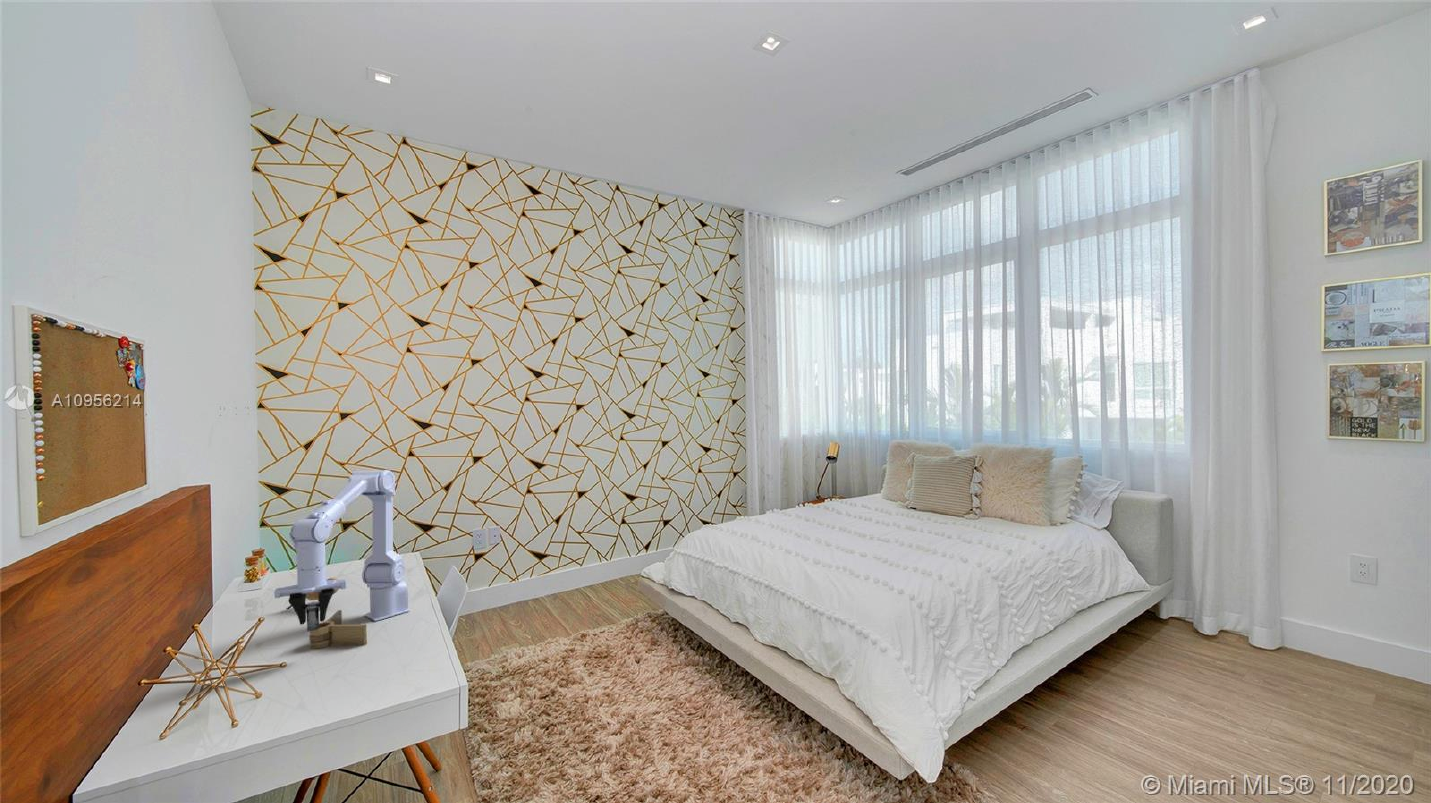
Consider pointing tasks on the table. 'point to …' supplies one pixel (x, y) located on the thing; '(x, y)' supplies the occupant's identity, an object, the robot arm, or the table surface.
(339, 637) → the tan hinge leaf
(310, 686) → the table surface
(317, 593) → the lion figurine
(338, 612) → the leaf
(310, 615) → the hinge pin
